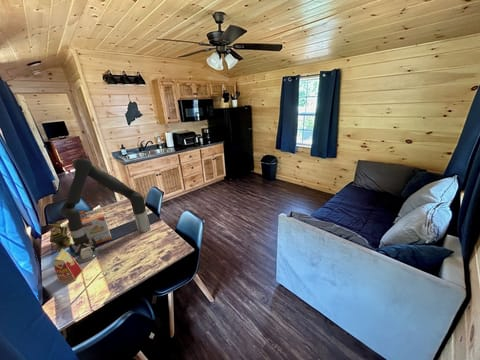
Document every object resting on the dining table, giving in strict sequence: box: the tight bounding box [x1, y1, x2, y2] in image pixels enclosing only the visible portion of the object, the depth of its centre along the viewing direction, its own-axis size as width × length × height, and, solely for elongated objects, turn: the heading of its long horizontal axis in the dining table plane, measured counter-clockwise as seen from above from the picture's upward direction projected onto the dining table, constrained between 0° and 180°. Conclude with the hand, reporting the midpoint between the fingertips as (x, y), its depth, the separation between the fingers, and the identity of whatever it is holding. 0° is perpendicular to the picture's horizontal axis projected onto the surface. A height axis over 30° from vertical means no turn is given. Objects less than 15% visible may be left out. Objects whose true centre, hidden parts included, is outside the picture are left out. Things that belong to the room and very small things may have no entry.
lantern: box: [79, 210, 91, 226], centre depth 178 cm, size 10×9×30 cm
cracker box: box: [82, 213, 112, 245], centre depth 153 cm, size 14×6×21 cm, turn 125°
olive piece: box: [47, 221, 71, 251], centre depth 150 cm, size 20×10×20 cm, turn 37°
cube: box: [79, 246, 92, 259], centre depth 140 cm, size 5×5×5 cm
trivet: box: [76, 249, 99, 264], centre depth 141 cm, size 12×12×1 cm
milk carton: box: [52, 248, 84, 284], centre depth 121 cm, size 9×9×20 cm
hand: (86, 253), depth 141 cm, fingers open, 8 cm apart
